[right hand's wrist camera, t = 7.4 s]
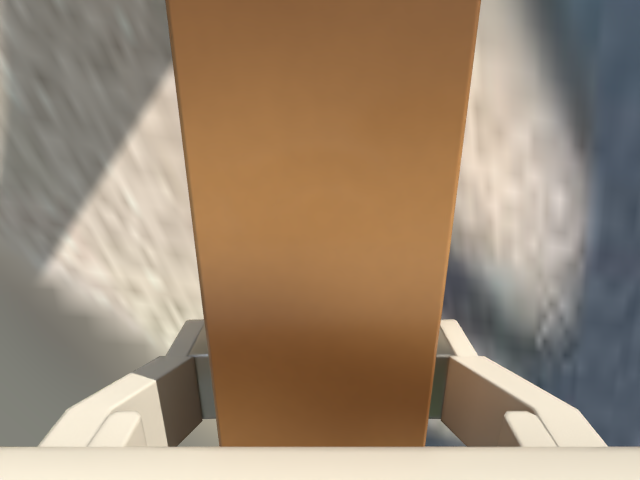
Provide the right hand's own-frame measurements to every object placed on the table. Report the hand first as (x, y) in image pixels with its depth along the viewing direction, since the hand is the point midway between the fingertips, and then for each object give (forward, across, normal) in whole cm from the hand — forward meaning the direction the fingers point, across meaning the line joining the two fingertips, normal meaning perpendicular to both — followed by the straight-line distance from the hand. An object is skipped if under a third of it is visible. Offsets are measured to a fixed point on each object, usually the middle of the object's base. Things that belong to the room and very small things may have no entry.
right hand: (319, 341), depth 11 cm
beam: (+4, 0, -19) cm, 19 cm away
